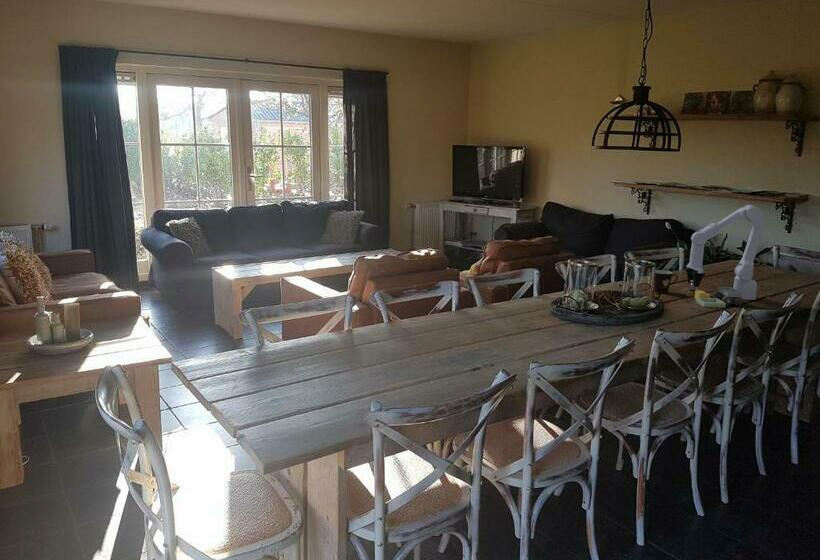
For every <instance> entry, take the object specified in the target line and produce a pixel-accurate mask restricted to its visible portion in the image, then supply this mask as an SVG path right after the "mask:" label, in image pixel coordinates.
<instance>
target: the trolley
mask: <svg viewBox="0 0 820 560" xmlns="http://www.w3.org/2000/svg"><path fill="white" fill-rule="evenodd" d="M716 290H717V291H715V292H714V293H713V298H718V299H719V300H721V301H723V302H724V303H726V306H730V305H732V304H734V305H735V306H737V307H739V306H741V305H743V303H744V299H743V298H741V292H740V291H738V290H736V289H734V288H733V287H732V286H717V289H716Z"/></svg>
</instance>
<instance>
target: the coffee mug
mask: <svg viewBox="0 0 820 560" xmlns="http://www.w3.org/2000/svg"><path fill="white" fill-rule="evenodd" d="M654 271H655V277H654V276H653V285H654V286H653V287H654V288H655V292H654V293H656V292H657V293H658V294H668V293H669V290H670V286H672V285H673V284H675V283H676V282H677V280H678V279H679V278H678V277H679V276H678V274H675V273H673V272H672V271H670V270H662V269H657V270H654ZM673 276H675V277H676V278H675V280H674V281H672V278H673ZM671 281H672V282H671ZM654 288H653V289H654ZM657 293H656V294H657Z"/></svg>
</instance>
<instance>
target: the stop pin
mask: <svg viewBox="0 0 820 560" xmlns="http://www.w3.org/2000/svg"><path fill="white" fill-rule="evenodd" d="M689 289H690V292H695V291H696V289H697V287H694V280H691V283H690V288H689Z"/></svg>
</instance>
